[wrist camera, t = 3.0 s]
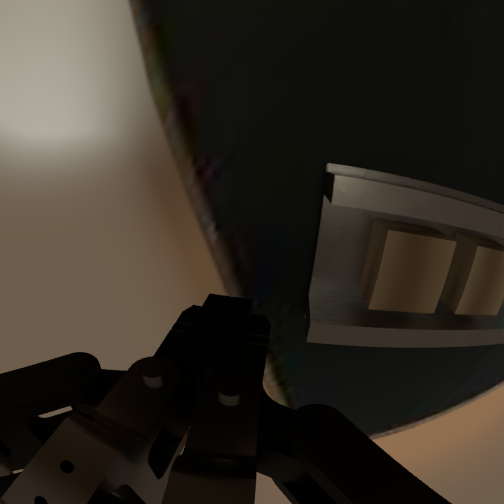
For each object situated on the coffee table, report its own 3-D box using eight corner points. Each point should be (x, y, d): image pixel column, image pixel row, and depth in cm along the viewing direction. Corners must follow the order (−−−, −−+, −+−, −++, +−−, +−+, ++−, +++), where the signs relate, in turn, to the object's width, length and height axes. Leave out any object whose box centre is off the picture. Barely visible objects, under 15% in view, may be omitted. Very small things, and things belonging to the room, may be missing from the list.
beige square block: (436, 228, 16) (456, 241, 13) (418, 292, 18) (433, 313, 15) (373, 217, 16) (388, 230, 14) (359, 286, 18) (368, 309, 15)
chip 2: (497, 241, 15) (518, 254, 12) (479, 297, 17) (496, 315, 14) (456, 232, 16) (477, 246, 13) (438, 294, 17) (454, 314, 15)
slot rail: (525, 213, 14) (556, 227, 10) (491, 320, 18) (512, 346, 14) (325, 162, 17) (336, 164, 13) (304, 310, 21) (304, 347, 16)
